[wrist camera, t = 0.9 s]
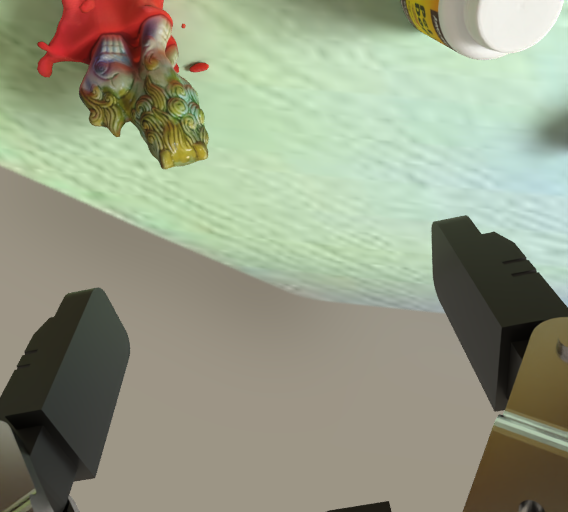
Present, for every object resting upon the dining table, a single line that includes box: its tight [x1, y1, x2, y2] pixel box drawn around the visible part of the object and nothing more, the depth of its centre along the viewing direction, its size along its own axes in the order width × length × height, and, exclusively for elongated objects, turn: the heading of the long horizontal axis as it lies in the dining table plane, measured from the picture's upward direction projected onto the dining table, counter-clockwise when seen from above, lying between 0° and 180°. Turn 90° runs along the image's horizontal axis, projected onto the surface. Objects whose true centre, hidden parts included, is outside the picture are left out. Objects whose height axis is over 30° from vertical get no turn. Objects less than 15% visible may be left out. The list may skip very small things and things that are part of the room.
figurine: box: [37, 0, 209, 169], centre depth 28 cm, size 8×10×12 cm
